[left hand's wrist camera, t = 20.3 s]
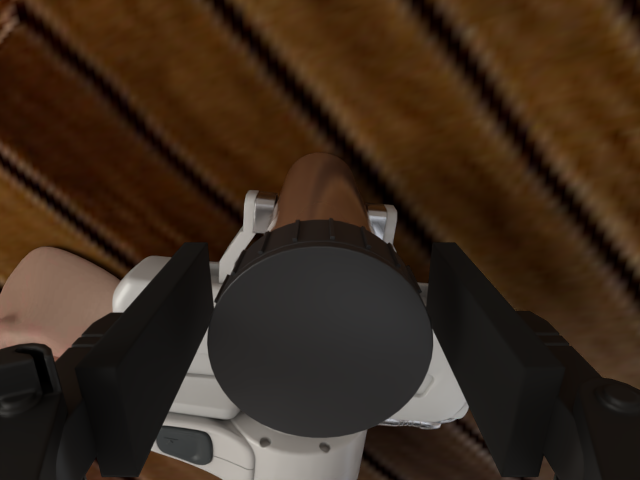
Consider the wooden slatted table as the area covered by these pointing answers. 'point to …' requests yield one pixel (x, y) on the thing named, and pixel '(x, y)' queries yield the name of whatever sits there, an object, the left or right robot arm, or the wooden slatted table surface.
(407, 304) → the lid
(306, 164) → the jar
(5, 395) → the left robot arm
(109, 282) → the anatomical model
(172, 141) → the wooden slatted table surface
